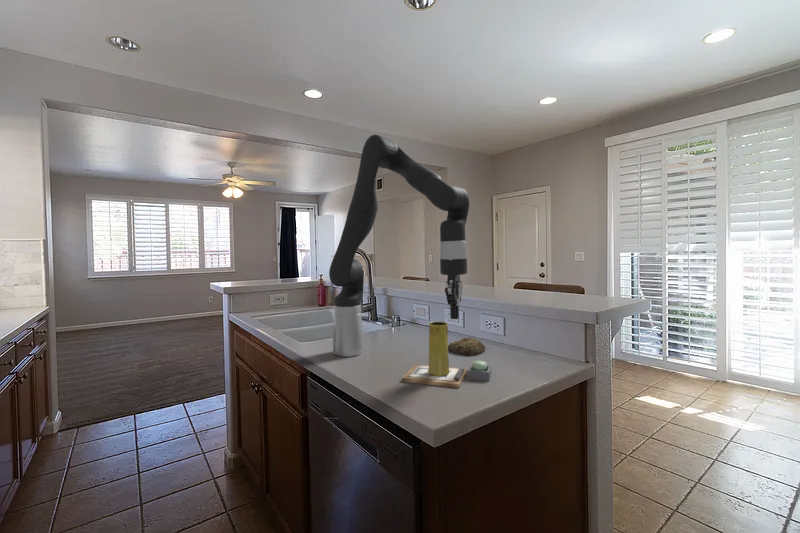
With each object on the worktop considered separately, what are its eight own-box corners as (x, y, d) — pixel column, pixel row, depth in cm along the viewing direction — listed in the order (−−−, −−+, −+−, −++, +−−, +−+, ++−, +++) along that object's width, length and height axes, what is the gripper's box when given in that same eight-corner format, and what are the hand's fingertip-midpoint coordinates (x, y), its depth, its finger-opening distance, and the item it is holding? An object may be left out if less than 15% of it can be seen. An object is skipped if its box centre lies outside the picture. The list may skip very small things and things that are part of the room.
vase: (448, 376, 104) (448, 325, 103) (426, 375, 105) (426, 325, 105) (450, 369, 110) (449, 321, 109) (429, 368, 111) (429, 320, 110)
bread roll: (468, 358, 127) (468, 343, 126) (442, 350, 136) (442, 337, 136) (492, 351, 134) (492, 337, 134) (466, 344, 144) (466, 331, 144)
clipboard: (401, 381, 104) (401, 374, 104) (415, 367, 117) (415, 361, 117) (459, 388, 99) (459, 380, 99) (467, 372, 111) (467, 366, 111)
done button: (471, 371, 106) (471, 364, 106) (473, 366, 110) (473, 360, 110) (485, 372, 105) (485, 365, 105) (487, 368, 109) (487, 361, 109)
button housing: (467, 378, 106) (467, 370, 106) (470, 372, 112) (470, 363, 111) (489, 381, 104) (489, 372, 104) (491, 374, 110) (491, 365, 109)
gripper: (445, 257, 113) (447, 314, 114) (434, 258, 101) (436, 322, 101) (470, 256, 111) (472, 315, 111) (462, 257, 98) (463, 323, 99)
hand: (454, 318), depth 106 cm, fingers closed
